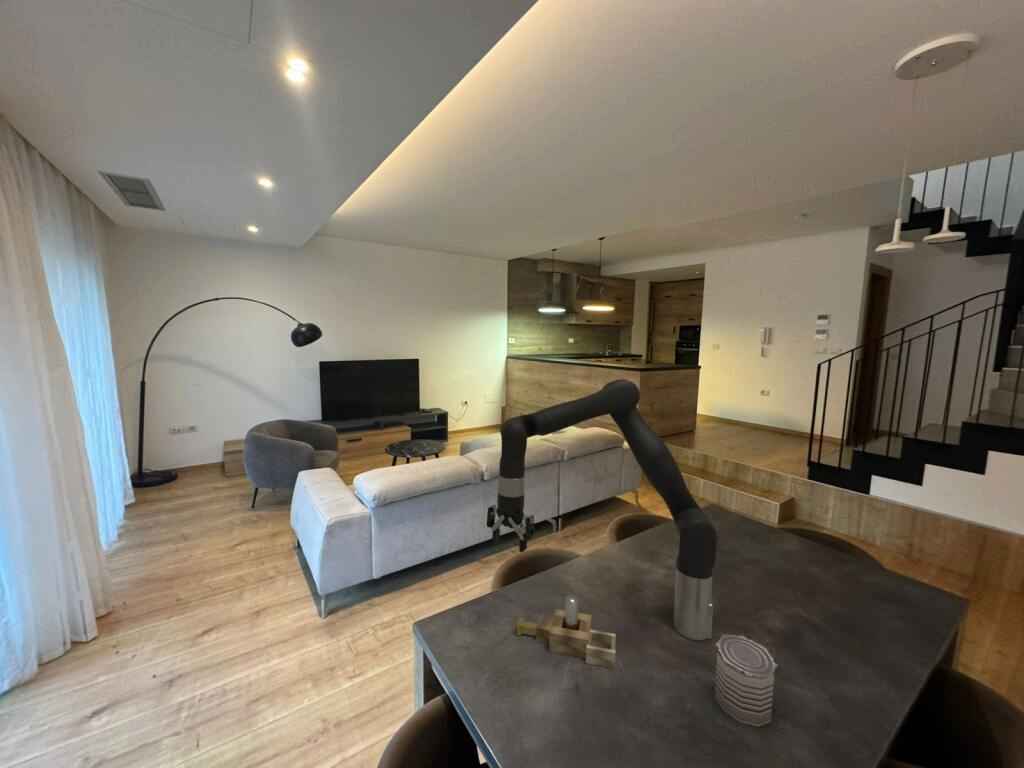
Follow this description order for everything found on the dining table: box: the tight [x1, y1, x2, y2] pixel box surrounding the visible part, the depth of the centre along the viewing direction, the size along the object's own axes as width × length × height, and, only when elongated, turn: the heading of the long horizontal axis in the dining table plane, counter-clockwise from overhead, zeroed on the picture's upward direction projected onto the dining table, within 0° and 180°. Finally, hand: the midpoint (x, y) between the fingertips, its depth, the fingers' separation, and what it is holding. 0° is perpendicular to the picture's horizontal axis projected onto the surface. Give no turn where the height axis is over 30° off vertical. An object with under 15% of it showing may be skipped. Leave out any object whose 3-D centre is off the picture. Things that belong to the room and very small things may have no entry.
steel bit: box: [564, 594, 579, 630], centre depth 108 cm, size 3×3×12 cm
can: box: [714, 633, 779, 728], centre depth 89 cm, size 11×11×12 cm
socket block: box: [535, 608, 593, 659], centre depth 109 cm, size 14×10×5 cm
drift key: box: [516, 616, 537, 637], centre depth 111 cm, size 8×4×3 cm, turn 75°
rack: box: [585, 628, 617, 669], centre depth 103 cm, size 7×7×4 cm
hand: (509, 546), depth 114 cm, fingers open, 8 cm apart
